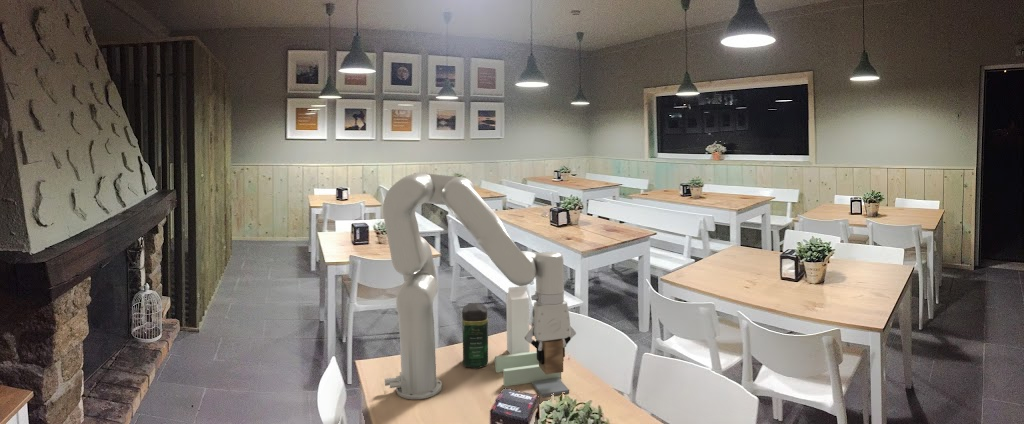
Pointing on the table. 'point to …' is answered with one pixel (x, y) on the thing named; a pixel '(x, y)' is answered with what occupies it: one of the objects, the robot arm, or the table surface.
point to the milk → (517, 320)
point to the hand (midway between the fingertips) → (550, 360)
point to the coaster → (550, 387)
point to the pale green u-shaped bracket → (521, 368)
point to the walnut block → (552, 357)
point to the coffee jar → (475, 335)
